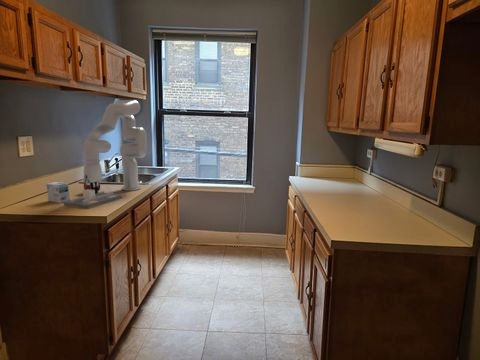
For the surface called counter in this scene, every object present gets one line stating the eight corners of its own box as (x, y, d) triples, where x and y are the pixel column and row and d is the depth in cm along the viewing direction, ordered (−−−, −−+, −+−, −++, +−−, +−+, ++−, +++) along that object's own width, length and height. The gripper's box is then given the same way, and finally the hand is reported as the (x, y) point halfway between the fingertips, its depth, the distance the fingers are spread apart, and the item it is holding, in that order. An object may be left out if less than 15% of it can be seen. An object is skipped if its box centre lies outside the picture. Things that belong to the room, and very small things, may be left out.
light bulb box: (70, 200, 191) (68, 182, 189) (60, 203, 185) (58, 184, 183) (58, 198, 195) (56, 181, 193) (47, 201, 189) (45, 183, 187)
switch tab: (88, 197, 188) (88, 189, 187) (95, 198, 186) (94, 189, 186) (83, 199, 185) (82, 190, 184) (89, 200, 183) (89, 191, 182)
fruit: (101, 193, 209) (100, 178, 207) (84, 195, 205) (83, 179, 203) (100, 190, 218) (99, 176, 217) (83, 192, 214) (82, 177, 212)
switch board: (99, 195, 204) (99, 190, 203) (122, 198, 198) (121, 192, 197) (63, 205, 180) (63, 199, 180) (88, 208, 174) (87, 202, 173)
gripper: (97, 160, 194) (99, 190, 197) (76, 163, 180) (79, 195, 183) (107, 161, 191) (109, 191, 194) (86, 164, 177) (89, 196, 181)
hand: (94, 193), depth 189 cm, fingers closed
